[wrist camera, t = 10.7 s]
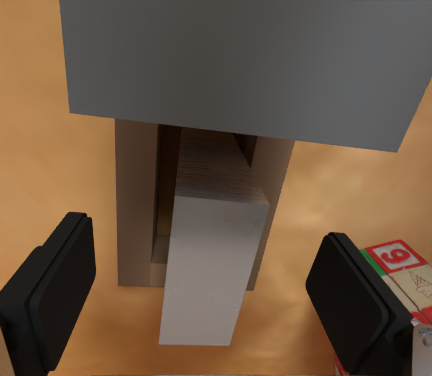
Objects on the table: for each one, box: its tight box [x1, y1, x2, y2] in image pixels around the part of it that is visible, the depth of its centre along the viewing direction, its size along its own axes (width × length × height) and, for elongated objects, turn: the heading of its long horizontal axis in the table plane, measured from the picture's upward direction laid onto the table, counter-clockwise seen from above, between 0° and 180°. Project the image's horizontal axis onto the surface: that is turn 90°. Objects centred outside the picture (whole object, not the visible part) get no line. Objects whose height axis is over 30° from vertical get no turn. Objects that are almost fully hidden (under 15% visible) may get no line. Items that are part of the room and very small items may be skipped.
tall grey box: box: [159, 127, 270, 346], centre depth 14 cm, size 3×7×9 cm, turn 170°
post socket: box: [59, 0, 432, 291], centre depth 11 cm, size 9×19×11 cm, turn 172°
